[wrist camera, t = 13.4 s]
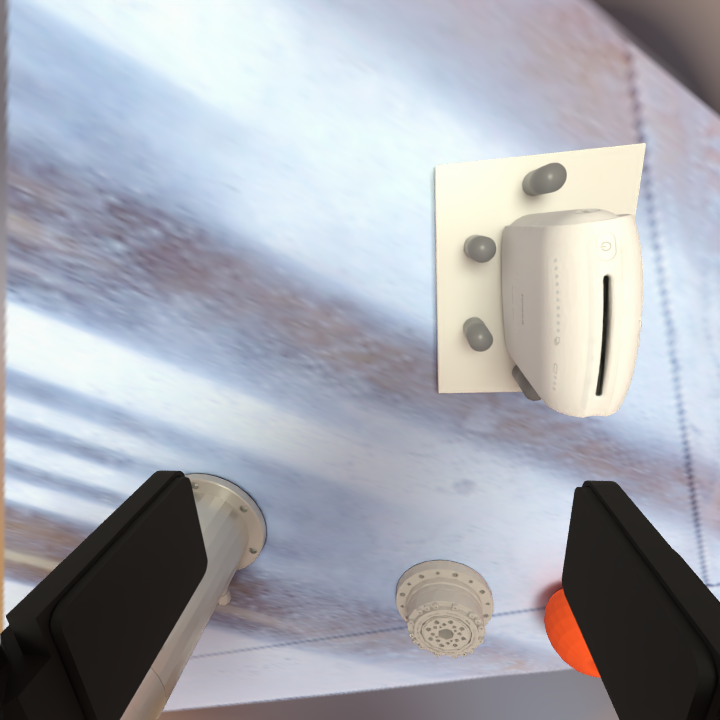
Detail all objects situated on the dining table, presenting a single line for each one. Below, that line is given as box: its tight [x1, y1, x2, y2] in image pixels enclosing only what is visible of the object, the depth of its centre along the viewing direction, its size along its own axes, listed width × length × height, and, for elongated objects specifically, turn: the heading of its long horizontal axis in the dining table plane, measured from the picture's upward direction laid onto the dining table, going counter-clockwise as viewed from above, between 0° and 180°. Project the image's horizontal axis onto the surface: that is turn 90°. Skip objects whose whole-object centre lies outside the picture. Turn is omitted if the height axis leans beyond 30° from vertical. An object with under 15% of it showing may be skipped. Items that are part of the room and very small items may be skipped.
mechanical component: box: [396, 560, 493, 658], centre depth 40 cm, size 10×4×10 cm
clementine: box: [544, 589, 601, 677], centre depth 36 cm, size 8×7×7 cm
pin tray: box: [435, 143, 646, 401], centre depth 27 cm, size 17×13×5 cm
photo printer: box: [502, 209, 643, 418], centre depth 22 cm, size 10×4×12 cm, turn 9°
